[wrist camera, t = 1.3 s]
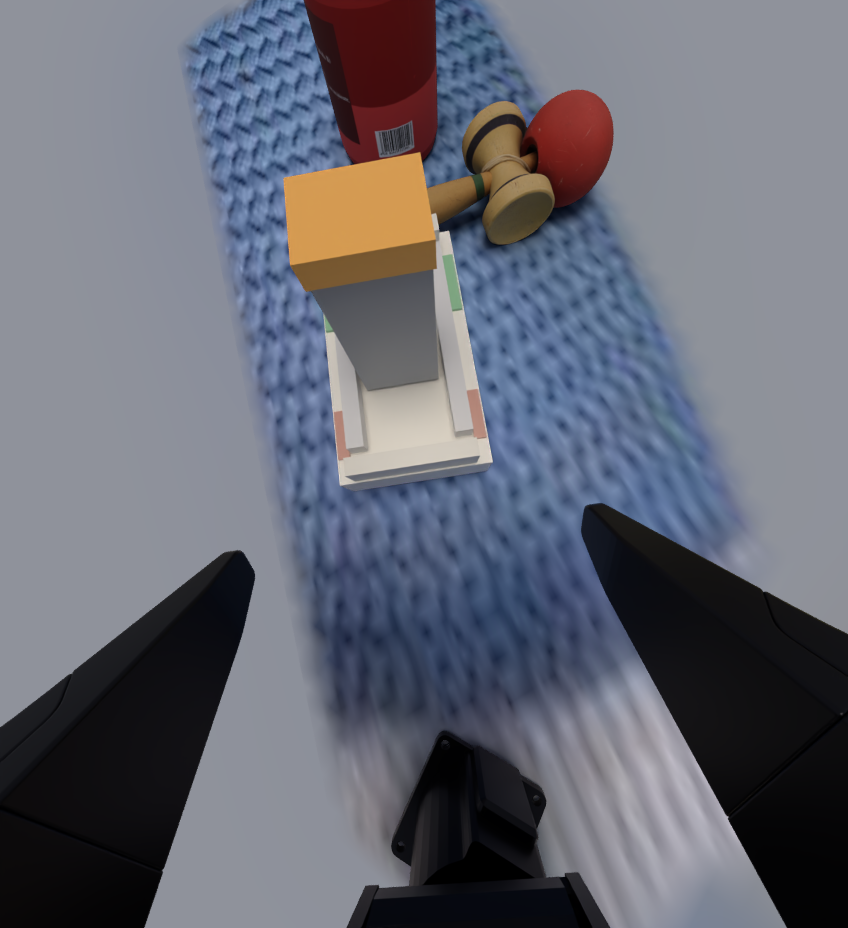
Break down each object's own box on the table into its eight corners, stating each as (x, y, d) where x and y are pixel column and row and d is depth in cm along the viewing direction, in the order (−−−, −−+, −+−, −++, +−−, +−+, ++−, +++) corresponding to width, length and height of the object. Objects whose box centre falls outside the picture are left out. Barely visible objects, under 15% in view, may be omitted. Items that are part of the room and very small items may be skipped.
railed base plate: (486, 470, 23) (497, 454, 18) (353, 491, 23) (328, 480, 18) (448, 265, 26) (449, 202, 21) (332, 285, 26) (305, 228, 21)
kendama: (391, 312, 27) (622, 213, 24) (357, 239, 21) (656, 98, 19) (371, 248, 30) (576, 154, 27) (336, 168, 24) (592, 39, 22)
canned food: (456, 125, 28) (462, -124, 17) (400, 195, 27) (371, -24, 17) (382, 91, 29) (345, -162, 19) (326, 156, 28) (253, -71, 18)
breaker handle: (440, 381, 20) (435, 239, 10) (365, 393, 21) (290, 265, 11) (432, 330, 21) (420, 152, 11) (359, 343, 21) (283, 177, 11)
